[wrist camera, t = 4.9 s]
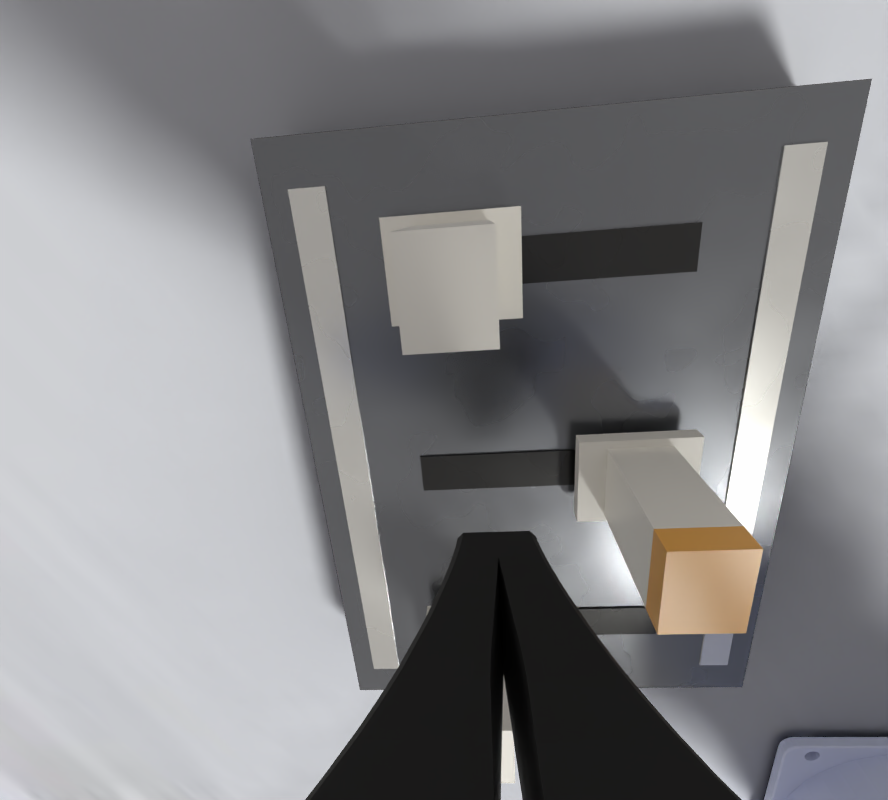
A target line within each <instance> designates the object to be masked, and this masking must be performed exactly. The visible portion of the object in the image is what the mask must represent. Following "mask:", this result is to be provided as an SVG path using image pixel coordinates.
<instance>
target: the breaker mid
mask: <svg viewBox="0 0 888 800" xmlns="http://www.w3.org/2000/svg"><path fill="white" fill-rule="evenodd" d="M703 445H704V436H703V435H702V434H701V433H700V432H699V431H698V430H697V429H696V430H674V431H653V432H631V433H610V434H589V435H576V449H575V487H574V514H575V517H576V520H577V522H586V521H607V522H608V524H609V526H610V529H611V531H612V533H613V535H614V538H615V540H616V542H617V544H618V547H619V549H620V551H621V553H622V556H623V558H624V560H625V563H626V565H627V567H628V569H629V572H630V574H631V576H632V578H633V581H634V583H635V585H636V587H637V590H638V592H639V594H640V596H641V599H642V601H643V603H644V606H645V608H646V610H647V612H648V615H649V617H650V619H651V621H652V624H653V626H654V628H655V630H656V633H657V635H671V634H735V633H746V632H747V627H748V622H749V617H750V612H751V607H752V602H753V597H754V593H755V588H756V583H757V578H758V573H759V568H760V563H761V558H762V554H763V548H762V547H761V546H760V545H759V543H758V542H757V541H756V540H755V539H754V538H753V536H752V535H751V534H750V533H749V532H748V531H747V530H746V528H745V527H744V526H743V525H742V524H741V523H740V521H739V520H738V519H737V518H736V517H735V516H734V515H733V513H732V512H731V511H730V510H729V509H728V508H727V506H726V505H725V504H724V503H723V502H722V501H721V500H720V498H719V497H718V496H717V495H716V494H715V493H714V491H713V490H712V489H711V488H710V487H709V486H708V485H707V483H706V482H705V481H704V480H703V479H702V478H701V476H700V475H699V474H700V467H701V459H702V452H703Z"/></svg>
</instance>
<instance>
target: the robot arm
mask: <svg viewBox="0 0 888 800" xmlns="http://www.w3.org/2000/svg"><path fill="white" fill-rule="evenodd" d="M503 675H504V680H505V687H506V694H507V700H508V707H509V713H510V720H511V726H512V733H513V739H514V746H515V752H516V759H517V765H518V772H519V778H520V785H521V791H522V798H523V800H741V799H740V798H739V797H738V796H737V795H736V794H735V793H734V792H733V791H732V790H731V789H730V788H729V787H728V786H727V785H726V784H725V783H724V782H723V781H722V780H721V779H720V778H719V777H718V776H717V775H716V774H715V773H714V772H713V771H712V770H711V769H710V768H709V767H708V765H707V764H706V763H705V762H704V761H703V760H702V759H701V758H700V757H699V756H698V755H697V754H696V753H695V752H694V750H693V749H692V748H691V747H690V746H689V745H688V744H687V743H686V742H685V741H684V740H683V739H682V738H681V737H680V736H679V734H678V733H677V732H676V731H675V730H674V729H673V728H672V727H671V725H670V724H669V723H668V722H667V721H666V720H665V719H664V718H663V716H662V715H661V714H660V713H659V712H658V711H657V710H656V708H655V707H654V706H653V705H652V704H651V703H650V702H649V700H648V699H647V698H646V697H645V696H644V695H643V693H642V692H641V691H640V690H639V689H638V687H637V686H636V685H635V684H634V683H633V681H632V680H631V679H630V678H629V676H628V675H627V674H626V673H625V671H624V670H623V669H622V668H621V666H620V665H619V664H618V663H617V661H616V660H615V659H614V657H613V656H612V655H611V653H610V652H609V651H608V650H607V648H606V647H605V646H604V644H603V643H602V642H601V640H600V639H599V638H598V636H597V635H596V634H595V632H594V631H593V630H592V628H591V627H590V625H589V624H588V622H587V621H586V620H585V618H584V617H583V615H582V614H581V612H580V611H579V609H578V608H577V606H576V605H575V604H574V602H573V601H572V599H571V598H570V596H569V595H568V593H567V592H566V590H565V589H564V587H563V585H562V584H561V582H560V581H559V579H558V577H557V576H556V574H555V572H554V571H553V569H552V567H551V566H550V564H549V562H548V560H547V558H546V557H545V555H544V553H543V551H542V549H541V547H540V545H539V543H538V541H537V538H536V536H535V535H534V534H533V533H532V532H530V531H505V532H471V533H462V534H461V535H460V536H459V537H458V538H457V543H456V547H455V550H454V553H453V556H452V559H451V562H450V565H449V567H448V570H447V572H446V575H445V577H444V579H443V582H442V584H441V587H440V589H439V591H438V593H437V595H436V597H435V599H434V601H433V603H432V605H431V608H430V610H429V612H428V614H427V616H426V618H425V620H424V622H423V624H422V626H421V628H420V629H419V631H418V633H417V635H416V637H415V638H414V640H413V642H412V644H411V645H410V647H409V649H408V651H407V653H406V654H405V656H404V658H403V660H402V661H401V663H400V665H399V667H398V668H397V670H396V672H395V673H394V675H393V677H392V678H391V680H390V681H389V683H388V685H387V686H386V688H385V689H384V691H383V693H382V694H381V696H380V697H379V699H378V700H377V702H376V703H375V705H374V706H373V708H372V709H371V711H370V712H369V714H368V715H367V717H366V718H365V720H364V721H363V723H362V724H361V726H360V727H359V728H358V730H357V731H356V733H355V734H354V735H353V737H352V738H351V740H350V741H349V742H348V744H347V745H346V746H345V748H344V749H343V750H342V752H341V753H340V755H339V756H338V757H337V759H336V760H335V761H334V763H333V764H332V765H331V767H330V768H329V770H328V771H327V772H326V774H325V775H324V776H323V778H322V779H321V780H320V781H319V783H318V784H317V785H316V787H315V788H314V789H313V791H312V792H311V793H310V794H309V796H308V797H307V798H306V799H305V800H501V759H502V718H503ZM764 800H888V737H789V738H786V739H784V740H782V741H781V742H780V744H779V746H778V749H777V753H776V757H775V760H774V764H773V768H772V772H771V775H770V779H769V783H768V786H767V790H766V794H765V798H764Z"/></svg>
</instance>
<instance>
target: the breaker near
mask: <svg viewBox="0 0 888 800" xmlns="http://www.w3.org/2000/svg"><path fill="white" fill-rule="evenodd" d="M379 222H380V230H381V239H382V247H383V256H384V264H385V273H386V281H387V290H388V298H389V307H390V315H391V323H392V327H394V326H399V328H400V337H401V346H402V355H413V354H429V353H446V352H462V351H479V350H495V349H500V335H499V320H501V319H517V318H523V294H522V233H521V206H514V207H502V208H490V209H478V210H465V211H453V212H441V213H429V214H417V215H405V216H393V217H381V218H379Z"/></svg>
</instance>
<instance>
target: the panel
mask: <svg viewBox="0 0 888 800" xmlns="http://www.w3.org/2000/svg"><path fill="white" fill-rule="evenodd" d="M871 80H872V79H864V80H854V81H843V82H833V83H823V84H812V85H802V86H792V87H781V88H771V89H761V90H751V91H740V92H730V93H720V94H709V95H699V96H689V97H678V98H668V99H658V100H647V101H637V102H627V103H616V104H606V105H596V106H586V107H575V108H565V109H555V110H544V111H534V112H524V113H513V114H503V115H493V116H482V117H472V118H462V119H452V120H441V121H431V122H421V123H410V124H400V125H390V126H379V127H369V128H359V129H348V130H338V131H328V132H318V133H307V134H297V135H287V136H276V137H266V138H256V139H251V144H252V149H253V154H254V159H255V164H256V169H257V174H258V179H259V184H260V189H261V194H262V199H263V204H264V209H265V214H266V219H267V224H268V229H269V234H270V239H271V244H272V249H273V254H274V259H275V264H276V269H277V274H278V279H279V284H280V290H281V295H282V300H283V305H284V310H285V315H286V320H287V325H288V330H289V335H290V340H291V345H292V350H293V355H294V360H295V365H296V370H297V375H298V380H299V385H300V390H301V395H302V400H303V405H304V410H305V415H306V420H307V425H308V430H309V435H310V440H311V445H312V450H313V455H314V460H315V465H316V470H317V475H318V480H319V486H320V491H321V496H322V501H323V506H324V511H325V516H326V521H327V526H328V531H329V536H330V541H331V546H332V551H333V556H334V561H335V566H336V571H337V576H338V581H339V586H340V591H341V596H342V601H343V606H344V611H345V616H346V621H347V626H348V631H349V636H350V641H351V646H352V651H353V656H354V661H355V666H356V671H357V677H358V682H359V687H360V690H384V689H385V688H386V686H387V685H388V683H389V681H390V680H391V678H392V677H393V675H394V673H395V672H396V670H397V668H398V667H399V665H400V663H401V661H402V660H403V658H404V656H405V654H406V653H407V651H408V649H409V647H410V645H411V644H412V642H413V640H414V638H415V637H416V635H417V633H418V631H419V629H420V628H421V626H422V624H423V622H424V620H425V618H426V614H427V606H431V605H432V603H433V601H434V599H435V597H436V595H437V593H438V591H439V589H440V587H441V584H442V582H443V579H444V577H445V575H446V572H447V570H448V567H449V565H450V562H451V559H452V556H453V553H454V550H455V547H456V543H457V538H458V537H459V536H460V535H461V534H462V533H471V532H505V531H530V532H532V533H533V534H534V535H535V536H536V538H537V541H538V543H539V545H540V547H541V549H542V551H543V553H544V555H545V557H546V558H547V560H548V562H549V564H550V566H551V567H552V569H553V571H554V572H555V574H556V576H557V577H558V579H559V581H560V582H561V584H562V585H563V587H564V589H565V590H566V592H567V593H568V595H569V596H570V598H571V599H572V601H573V602H574V604H575V605H576V606H577V608H578V609H579V611H580V612H581V614H582V615H583V617H584V618H585V620H586V621H587V622H588V624H589V625H590V627H591V628H592V630H593V631H594V632H595V634H596V635H597V636H598V638H599V639H600V640H601V642H602V643H603V644H604V646H605V647H606V648H607V650H608V651H609V652H610V653H611V655H612V656H613V657H614V659H615V660H616V661H617V663H618V664H619V665H620V666H621V668H622V669H623V670H624V671H625V673H626V674H627V675H628V676H629V678H630V679H631V680H632V681H633V683H634V684H635V685H636V686H637V687H638V688H667V687H742V686H743V681H744V676H745V672H746V667H747V662H748V658H749V653H750V648H751V643H752V639H753V634H754V629H755V625H756V620H757V615H758V611H759V606H760V601H761V596H762V592H763V587H764V582H765V578H766V573H767V568H768V564H769V559H770V554H771V550H772V545H773V540H774V535H775V531H776V526H777V521H778V517H779V512H780V507H781V503H782V498H783V493H784V489H785V484H786V479H787V474H788V470H789V465H790V460H791V456H792V451H793V446H794V442H795V437H796V432H797V428H798V423H799V418H800V413H801V409H802V404H803V399H804V395H805V390H806V385H807V381H808V376H809V371H810V366H811V362H812V357H813V352H814V348H815V343H816V338H817V334H818V329H819V324H820V320H821V315H822V310H823V305H824V301H825V296H826V291H827V287H828V282H829V277H830V273H831V268H832V263H833V259H834V254H835V249H836V244H837V240H838V235H839V230H840V226H841V221H842V216H843V212H844V207H845V202H846V197H847V193H848V188H849V183H850V179H851V174H852V169H853V165H854V160H855V155H856V151H857V146H858V141H859V136H860V132H861V127H862V122H863V118H864V113H865V108H866V104H867V99H868V94H869V90H870V85H871ZM514 206H521V233H522V294H523V318H517V319H501V320H499V335H500V349H495V350H479V351H462V352H446V353H429V354H413V355H402V346H401V337H400V328H399V326H394V327H392V323H391V315H390V307H389V298H388V290H387V281H386V273H385V264H384V256H383V247H382V239H381V230H380V222H379V218H381V217H393V216H405V215H417V214H429V213H441V212H453V211H465V210H478V209H490V208H502V207H514ZM696 429H697V430H698V431H699V432H700V433H701V434H702V435H703V436H704V445H703V452H702V459H701V467H700V474H699V475H700V476H701V478H702V479H703V480H704V481H705V482H706V483H707V485H708V486H709V487H710V488H711V489H712V490H713V491H714V493H715V494H716V495H717V496H718V497H719V498H720V500H721V501H722V502H723V503H724V504H725V505H726V506H727V508H728V509H729V510H730V511H731V512H732V513H733V515H734V516H735V517H736V518H737V519H738V520H739V521H740V523H741V524H742V525H743V526H744V527H745V528H746V530H747V531H748V532H749V533H750V534H751V535H752V536H753V538H754V539H755V540H756V541H757V542H758V543H759V545H760V546H761V547H762V548H763V554H762V558H761V563H760V568H759V573H758V578H757V583H756V588H755V593H754V597H753V602H752V607H751V612H750V617H749V622H748V627H747V632H746V633H735V634H671V635H657V633H656V630H655V628H654V626H653V624H652V621H651V619H650V617H649V615H648V612H647V610H646V608H645V606H644V603H643V601H642V599H641V596H640V594H639V592H638V590H637V587H636V585H635V583H634V581H633V578H632V576H631V574H630V572H629V569H628V567H627V565H626V563H625V560H624V558H623V556H622V553H621V551H620V549H619V547H618V544H617V542H616V540H615V538H614V535H613V533H612V531H611V529H610V526H609V524H608V522H607V521H586V522H577V520H576V517H575V514H574V487H575V449H576V435H589V434H610V433H631V432H653V431H674V430H696Z"/></svg>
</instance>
